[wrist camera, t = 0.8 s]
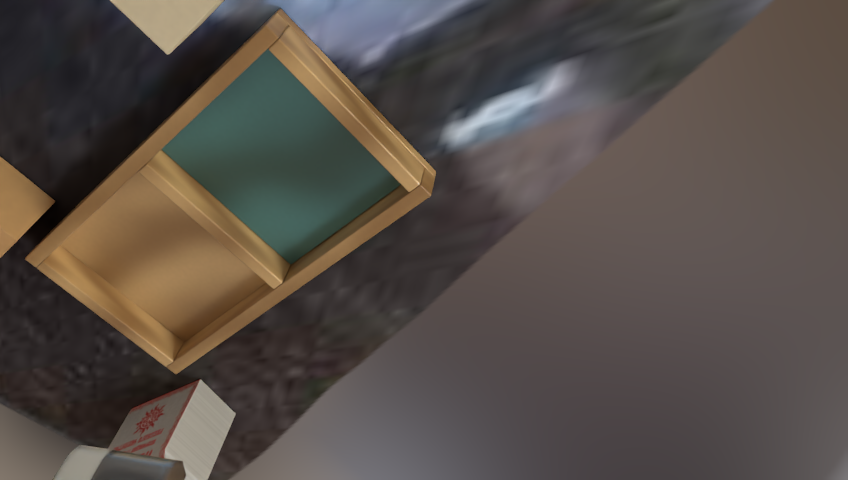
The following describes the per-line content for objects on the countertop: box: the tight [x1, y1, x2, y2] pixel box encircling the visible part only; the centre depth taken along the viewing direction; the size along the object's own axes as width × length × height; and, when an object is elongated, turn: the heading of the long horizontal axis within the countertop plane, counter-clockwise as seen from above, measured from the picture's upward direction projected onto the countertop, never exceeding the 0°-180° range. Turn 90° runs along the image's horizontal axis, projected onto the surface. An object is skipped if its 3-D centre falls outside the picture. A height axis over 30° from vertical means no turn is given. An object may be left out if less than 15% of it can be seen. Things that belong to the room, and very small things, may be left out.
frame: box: [25, 8, 436, 374], centre depth 41 cm, size 11×21×2 cm, turn 132°
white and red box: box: [108, 379, 236, 480], centre depth 49 cm, size 4×7×10 cm, turn 123°
